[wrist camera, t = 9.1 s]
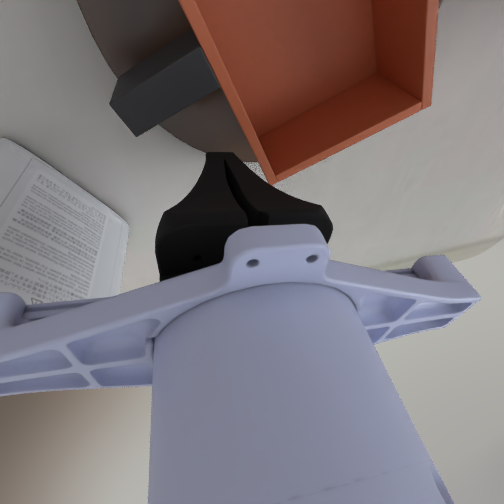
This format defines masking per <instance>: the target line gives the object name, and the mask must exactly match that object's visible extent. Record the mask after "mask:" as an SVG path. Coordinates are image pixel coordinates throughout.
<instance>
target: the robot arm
mask: <svg viewBox="0 0 504 504" xmlns="http://www.w3.org/2000/svg"><path fill="white" fill-rule="evenodd" d="M332 231H333V225H332V222H331V220H330V218H329V217H328V215H327V213H326V211H325V210H324V208H323V207H322V206H321V205H317V204H314V203H310V202H306V201H303V200H301V199H298V198H295V197H293V196H290V195H288V194H286V193H284V192H282V191H280V190H278V189H276V188H275V187H273V186H271V185H270V184H268V183H267V182H265V181H264V180H263V179H261V178H260V177H259V176H257V175H256V174H255V173H254V172H253V171H252V170H250V169H249V168H248V167H247V166H246V165H245V164H244V163H243V162H242V161H241V160H240V159H239V158H238V157H237V156H236V155H235V154H234V153H233V152H207V153H206V162H205V165H204V168H203V171H202V173H201V175H200V177H199V179H198V181H197V183H196V185H195V186H194V188H193V189H192V190H191V191H190V193H189V194H188V195H187V196H186V197H185V198H184V199H183V200H182V201H181V202H179V203H178V204H177V205H175V206H174V207H172V208H170V209H169V210H167V211H165V212H164V213H163V215H162V218H161V220H160V223H159V226H158V229H157V233H156V239H155V254H156V259H157V264H158V269H159V273H160V282H158V283H154V284H151V285H148V286H145V287H142V288H138V289H135V290H132V291H129V292H125V293H122V294H119V295H116V296H113V297H103V298H93V299H82V300H72V301H61V302H51V303H40V304H30V305H26V303H25V301H24V300H23V299H22V298H21V297H20V296H19V295H17V294H15V293H11V292H0V396H5V395H13V394H22V393H32V392H42V391H57V390H72V389H73V390H74V389H94V388H117V387H138V386H152V408H151V409H152V410H151V435H150V463H149V489H148V504H454V502H453V500H452V498H451V496H450V494H449V493H448V491H447V489H446V487H445V485H444V483H443V481H442V479H441V477H440V475H439V473H438V471H437V469H436V467H435V465H434V463H433V461H432V459H431V458H430V456H429V454H428V451H427V449H426V448H425V446H424V444H423V442H422V440H421V438H420V436H419V434H418V432H417V430H416V428H415V426H414V424H413V422H412V420H411V418H410V416H409V414H408V412H407V410H406V408H405V406H404V404H403V402H402V400H401V398H400V396H399V394H398V392H397V390H396V388H395V386H394V384H393V382H392V380H391V378H390V376H389V374H388V372H387V370H386V368H385V366H384V364H383V363H382V361H381V358H380V356H379V354H378V352H377V351H376V348H375V347H374V345H375V344H378V343H382V342H385V341H388V340H392V339H395V338H399V337H403V336H407V335H410V334H414V333H419V332H423V331H428V330H433V329H439V328H444V327H446V326H447V325H449V324H450V323H451V322H452V321H454V320H455V319H456V318H458V317H459V316H460V315H461V314H463V313H464V312H465V311H467V310H468V309H469V308H470V307H472V306H473V305H474V304H476V303H477V302H478V301H479V300H481V296H480V295H479V294H478V292H477V291H476V290H475V289H474V288H473V287H472V286H471V285H470V283H469V282H468V281H467V280H466V279H465V278H464V276H463V275H462V274H461V273H460V272H459V271H458V270H457V269H456V267H454V265H453V264H452V263H451V262H450V261H449V259H448V258H447V257H446V256H445V255H434V256H425V257H421V258H420V259H418V260H417V261H416V262H415V263H414V265H413V266H412V268H408V269H398V270H387V271H381V270H376V269H371V268H367V267H362V266H357V265H352V264H347V263H343V262H338V261H333V260H329V259H330V253H331V250H330V248H329V247H328V245H327V244H328V242H329V239H330V237H331V234H332Z"/></svg>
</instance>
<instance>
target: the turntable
mask: <svg viewBox="0 0 504 504" xmlns="http://www.w3.org/2000/svg"><path fill="white" fill-rule="evenodd" d="M442 1H443V0H439V6H438V10H439V8H440V6H441V4H442ZM77 2H78V5H79V7H80V9H81V11H82V14H83V16H84V18H85V21H86V23H87V25H88V27H89V30H90V32H91V34H92V36H93V38H94V40H95V42H96V44H97V45H98V47H99V49H100V51H101V53H102V54H103V56H104V58H105V60H106V62H107V63H108V65H109V67H110V68H111V69H112V71H113V72H114V74H115V75H116V77H117V78H119V76H120V75H122V74H123V73H125V72H126V71H128V70H129V69H131V68H132V67H134V66H135V65H137V64H139V63H140V62H142V61H143V60H145V59H146V58H148V57H149V56H151V55H152V54H154V53H155V52H157V51H158V50H160V49H161V48H163V47H164V46H166V45H167V44H169V43H171V42H172V41H174V40H175V39H177V38H178V37H180V36H181V35H183V34H184V33H186V32H187V31H189V30H190V29H192V27H191V25H190V23H189V21H188V19H187V17H186V15H185V13H184V11H183V9H182V7H181V5H180V3H179V1H178V0H77ZM159 125H160V126H162V127H163V128H164V129H166V130H167V131H168V132H170V133H171V134H172V135H174V136H175V137H176V138H178V139H180V140H182V141H183V142H185V143H187V144H188V145H190V146H192V147H194V148H196V149H199V150H201V151H203V152H205V153H207V152H233V153H234V154H235V155H236V156H237V157H238V158H239V159H240V160H241V161H242V162H258V161H257V159H256V157H255V155H254V153H253V151H252V149H251V147H250V145H249V143H248V141H247V138H246V136H245V134H244V132H243V130H242V128H241V126H240V124H239V122H238V120H237V118H236V116H235V114H234V112H233V110H232V108H231V106H230V104H229V102H228V100H227V98H226V96H225V94H224V92H223V90H222V88H221V86H220V88H218V89H217V90H215V91H213V92H212V93H210V94H208V95H207V96H205V97H203V98H201V99H200V100H198V101H196V102H195V103H193V104H191V105H190V106H188V107H186V108H185V109H183V110H181V111H180V112H178V113H176V114H175V115H173V116H171V117H170V118H168V119H166V120H165V121H163V122H161V123H160V124H159Z"/></svg>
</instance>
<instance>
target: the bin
mask: <svg viewBox="0 0 504 504" xmlns="http://www.w3.org/2000/svg"><path fill="white" fill-rule="evenodd" d="M178 1H179V3H180V5H181V7H182V9H183V11H184V13H185V15H186V17H187V19H188V21H189V23H190V25H191V27H192V29H190V30H189V31H187V32H186V33H184V34H183V35H181V36H180V37H178V38H177V39H175V40H174V41H172V42H171V43H169V44H167V45H166V46H164V47H163V48H161V49H160V50H158V51H157V52H155V53H154V54H152V55H151V56H149V57H148V58H146V59H145V60H143V61H142V62H140V63H139V64H137V65H135V66H134V67H132V68H131V69H129V70H128V71H126V72H125V73H123V74H122V75H120V76H119V78H118V81H117V83H116V86H115V89H114V92H113V95H112V97H111V100H110V103H109V104H110V106H111V107H112V108H113V110H114V111H115V112H116V113H117V114H118V116H119V117H120V118H121V119H122V120H123V122H124V123H125V124H126V125H127V126H128V128H129V129H130V130H131V131H132V132H133V134H134V135H135V136H136V137H138V136H139V135H141V134H143V133H144V132H146V131H148V130H150V129H151V128H153V127H155V126H156V125H158V124H160V123H161V122H163V121H165V120H166V119H168V118H170V117H171V116H173V115H175V114H176V113H178V112H180V111H181V110H183V109H185V108H186V107H188V106H190V105H191V104H193V103H195V102H196V101H198V100H200V99H201V98H203V97H205V96H207V95H208V94H210V93H212V92H213V91H215V90H217V89H218V88H220V86H221V88H222V90H223V92H224V94H225V96H226V98H227V100H228V102H229V104H230V106H231V108H232V110H233V112H234V114H235V116H236V118H237V120H238V122H239V124H240V126H241V128H242V130H243V132H244V134H245V136H246V138H247V141H248V143H249V145H250V147H251V149H252V151H253V153H254V155H255V157H256V159H257V161H258V163H259V165H260V167H261V169H262V171H263V173H264V175H265V177H266V179H267V181H268V183H269V184H270V185H273V184H275V183H277V182H279V181H281V180H283V179H285V178H287V177H289V176H291V175H293V174H295V173H297V172H299V171H301V170H303V169H305V168H307V167H309V166H311V165H313V164H315V163H317V162H319V161H321V160H323V159H325V158H327V157H329V156H331V155H333V154H335V153H337V152H339V151H341V150H343V149H345V148H347V147H349V146H351V145H353V144H355V143H357V142H359V141H361V140H363V139H365V138H367V137H369V136H371V135H373V134H375V133H377V132H379V131H381V130H383V129H385V128H387V127H389V126H391V125H393V124H395V123H397V122H399V121H401V120H403V119H405V118H407V117H409V116H411V115H413V114H415V113H417V112H419V111H421V110H423V109H425V108H427V107H429V106H431V101H432V88H433V74H434V60H435V47H436V33H437V20H438V6H439V0H178Z"/></svg>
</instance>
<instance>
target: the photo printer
mask: <svg viewBox="0 0 504 504" xmlns="http://www.w3.org/2000/svg"><path fill="white" fill-rule="evenodd" d="M128 237H129V226H128V224H127V223H126V222H125V221H124V220H123V219H122V218H121V217H120V216H119V215H118V214H116V213H115V212H114V211H113V210H111V209H110V208H108V207H107V206H106V205H104V204H103V203H102V202H100V201H99V200H97V199H96V198H95V197H93V196H92V195H91V194H89V193H88V192H86V191H85V190H84V189H82V188H81V187H79V186H78V185H77V184H75V183H74V182H72V181H71V180H70V179H68V178H67V177H65V176H64V175H63V174H61V173H60V172H58V171H57V170H55V169H54V168H53V167H51V166H50V165H49V164H47V163H46V162H44V161H43V160H41V159H40V158H38V157H37V156H35V155H34V154H32V153H31V152H29V151H28V150H26V149H24V148H23V147H21V146H19V145H18V144H16V143H14V142H13V141H10V140H8V139H6V138H0V292H11V293H15V294H17V295H19V296H20V297H21V298H22V299H23V300H24V301H25V303H26V305H30V304H40V303H51V302H61V301H72V300H82V299H93V298H103V297H113V296H116V295H119V294H120V288H121V282H122V275H123V268H124V262H125V255H126V249H127V243H128Z"/></svg>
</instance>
